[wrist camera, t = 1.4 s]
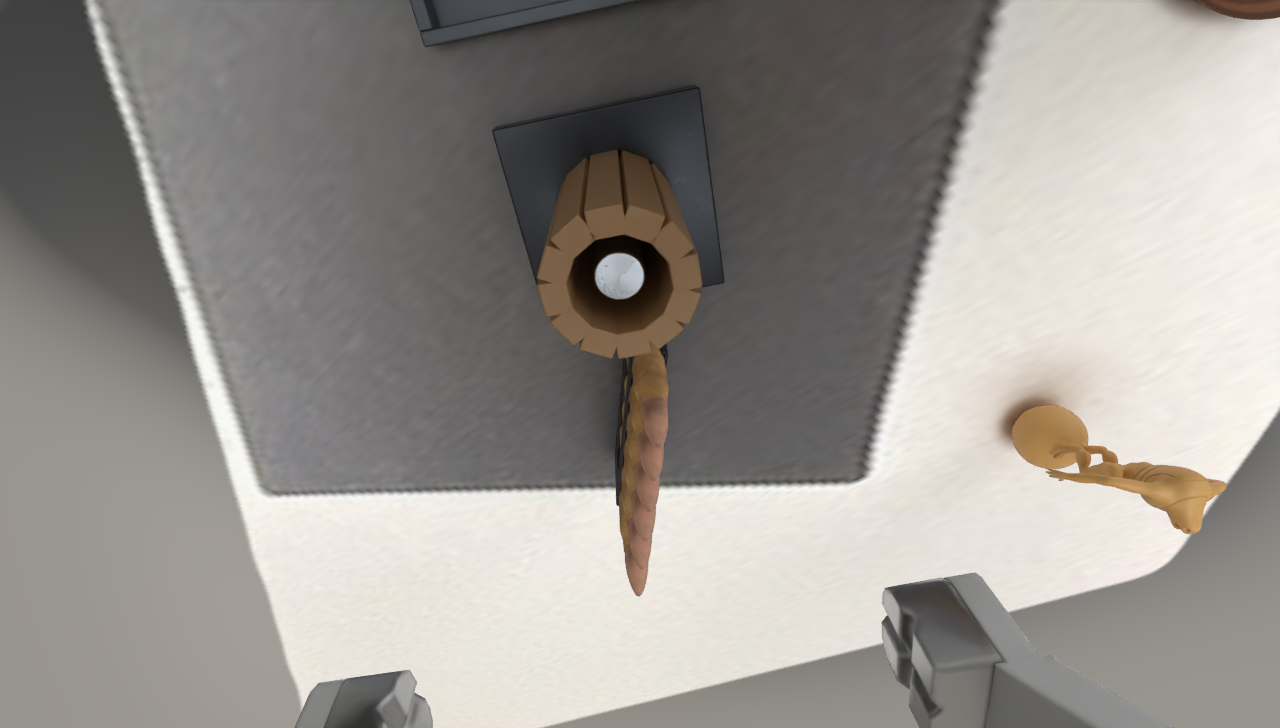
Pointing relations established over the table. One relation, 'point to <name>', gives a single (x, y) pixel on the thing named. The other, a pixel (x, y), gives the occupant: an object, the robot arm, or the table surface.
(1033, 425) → the figurine
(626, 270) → the stand
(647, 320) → the wooden pen holder
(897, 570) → the table surface
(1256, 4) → the cup and saucer
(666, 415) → the ammunition clip
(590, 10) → the desk tray
